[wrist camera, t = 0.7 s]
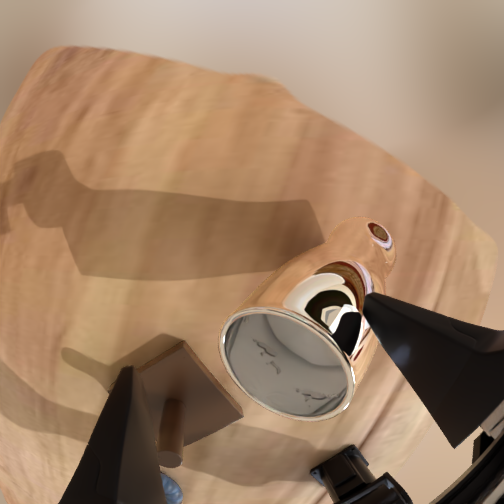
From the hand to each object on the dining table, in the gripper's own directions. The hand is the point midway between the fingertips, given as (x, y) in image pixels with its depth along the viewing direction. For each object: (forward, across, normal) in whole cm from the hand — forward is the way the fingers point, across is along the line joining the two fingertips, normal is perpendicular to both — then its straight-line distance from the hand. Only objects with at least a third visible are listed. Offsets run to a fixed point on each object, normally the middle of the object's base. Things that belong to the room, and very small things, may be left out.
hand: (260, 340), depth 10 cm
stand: (+9, +6, +15) cm, 19 cm away
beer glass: (+10, -12, +4) cm, 16 cm away
